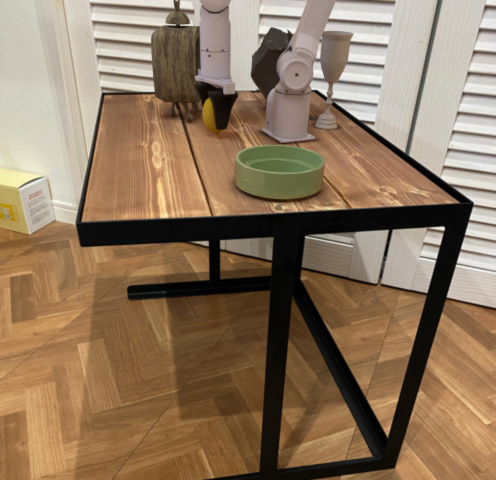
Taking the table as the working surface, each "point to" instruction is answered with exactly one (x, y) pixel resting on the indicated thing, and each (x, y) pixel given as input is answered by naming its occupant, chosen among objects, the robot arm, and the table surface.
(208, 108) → the lemon
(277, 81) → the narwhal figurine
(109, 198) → the table surface
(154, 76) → the tabletop clock
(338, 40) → the chalice
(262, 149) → the bowl
